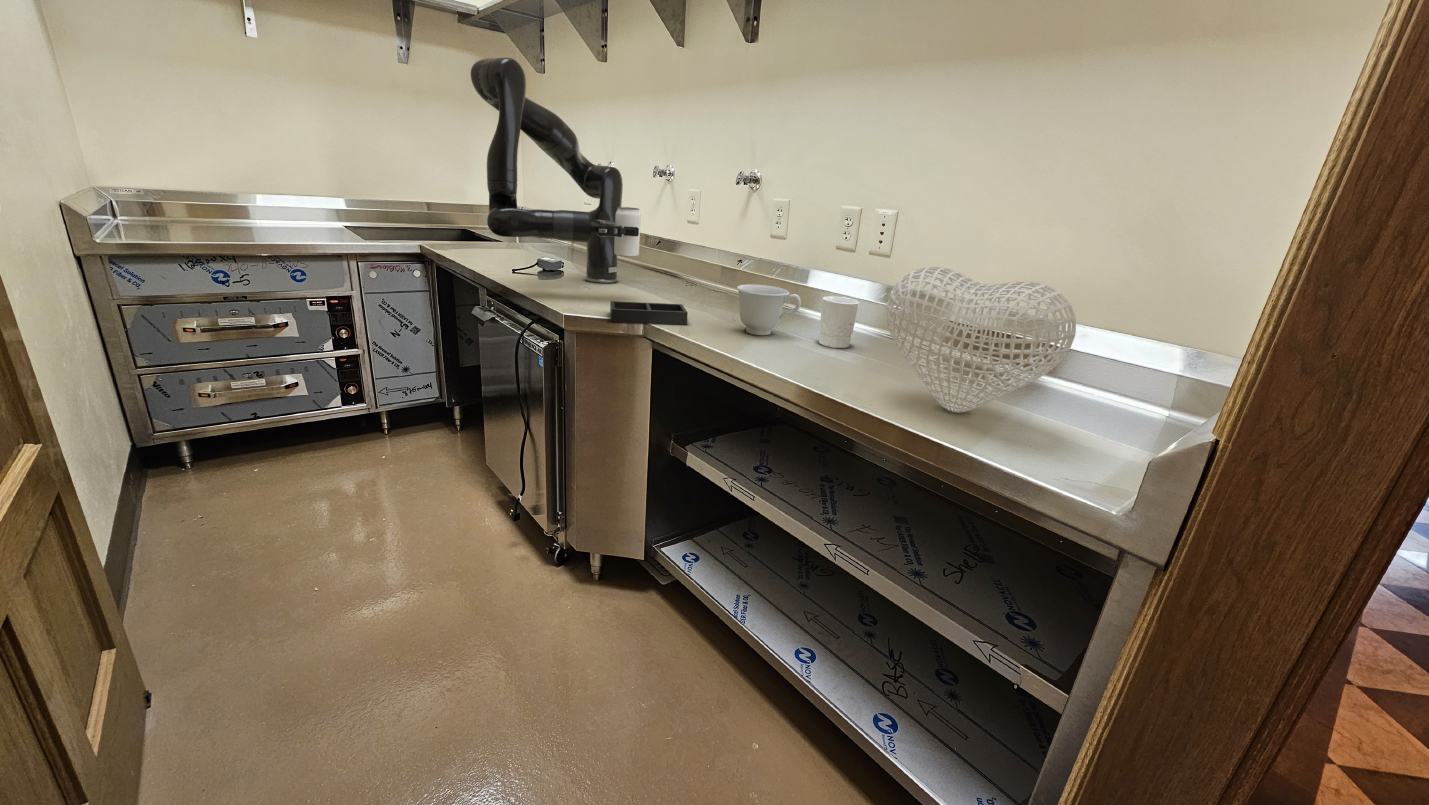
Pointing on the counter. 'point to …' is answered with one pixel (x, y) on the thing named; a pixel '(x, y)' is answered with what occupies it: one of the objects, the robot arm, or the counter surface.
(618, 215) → the can
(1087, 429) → the counter surface
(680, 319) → the tray
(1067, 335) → the heart
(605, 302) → the counter surface
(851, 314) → the white cup
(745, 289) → the teacup
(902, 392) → the counter surface
